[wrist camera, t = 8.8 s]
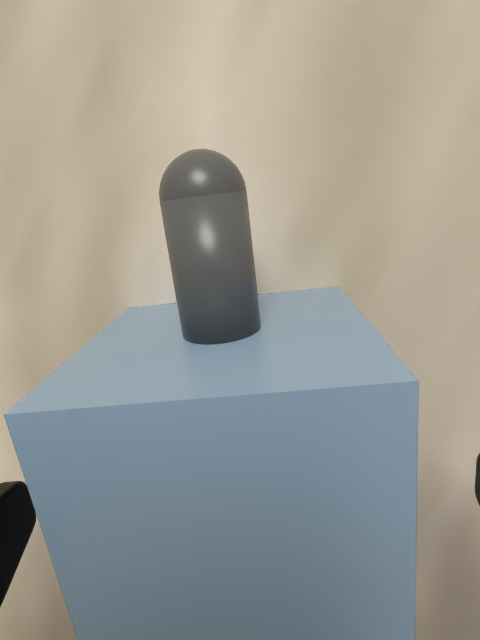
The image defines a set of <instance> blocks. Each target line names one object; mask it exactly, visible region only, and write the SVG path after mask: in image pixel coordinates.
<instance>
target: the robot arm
mask: <svg viewBox="0 0 480 640" xmlns="http://www.w3.org/2000/svg"><path fill="white" fill-rule="evenodd" d="M475 494H476V498H477V501H478V503H479V505H480V454H479V455H478V457H477V463H476V478H475ZM35 522H36V512H35V508H34V505H33V502H32V499H31V496H30V493H29V490H28V487H27V485H26V484H25V483H24V482H22V481H13V482H3V483H1V484H0V606H1V604H2V602H3V600H4V598H5V595H6V593H7V591H8V589H9V586H10V584H11V581H12V579H13V577H14V574H15V572H16V569H17V567H18V564H19V562H20V560H21V557H22V555H23V552H24V550H25V548H26V545H27V543H28V540H29V538H30V536H31V533H32V531H33V528H34V526H35Z"/></svg>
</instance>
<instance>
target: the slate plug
mask: <svg viewBox="0 0 480 640" xmlns="http://www.w3.org/2000/svg"><path fill="white" fill-rule="evenodd" d="M159 196H160V205H161V211H162V217H163V223H164V229H165V235H166V241H167V247H168V252H169V258H170V264H171V270H172V276H173V282H174V288H175V294H176V300H177V303H171V304H161V305H152V306H142V307H132V308H128V309H127V310H126V311H124V312H123V313H122V314H121V315H120V316H119V317H117V318H116V319H115V320H114V321H113V322H112V323H110V324H109V325H108V326H107V327H106V328H105V329H103V330H102V331H101V332H100V333H99V334H97V335H96V336H95V337H94V338H93V339H92V340H90V341H89V342H88V343H87V344H86V345H85V346H83V347H82V348H81V349H80V350H79V351H78V352H76V353H75V354H74V355H73V356H72V357H70V358H69V359H68V360H67V361H66V362H65V363H63V364H62V365H61V366H60V367H59V368H58V369H56V370H55V371H54V372H53V373H52V374H51V375H49V376H48V377H47V378H46V379H45V380H43V381H42V382H41V383H40V384H39V385H38V386H36V387H35V388H34V389H33V390H32V391H31V392H29V393H28V394H27V395H26V396H25V397H24V398H22V399H21V400H20V401H19V402H18V403H16V404H15V405H14V406H13V407H12V408H11V409H9V410H8V411H7V412H6V413H5V414H4V417H5V420H6V423H7V426H8V429H9V432H10V436H11V439H12V442H13V445H14V448H15V451H16V454H17V457H18V460H19V463H20V466H21V469H22V472H23V475H24V478H25V481H26V484H27V487H28V490H29V493H30V496H31V499H32V502H33V505H34V508H35V511H36V514H37V517H38V520H39V523H40V526H41V529H42V532H43V535H44V538H45V541H46V544H47V547H48V550H49V553H50V556H51V559H52V562H53V565H54V569H55V572H56V575H57V578H58V581H59V584H60V587H61V590H62V593H63V596H64V599H65V602H66V605H67V608H68V611H69V614H70V617H71V620H72V623H73V626H74V629H75V632H76V635H77V638H78V640H415V587H416V523H417V458H418V394H419V381H418V379H417V378H416V377H415V376H414V375H413V373H412V372H411V371H410V370H409V369H408V368H407V366H406V365H405V364H404V363H403V362H402V360H401V359H400V358H399V357H398V356H397V354H396V353H395V352H394V351H393V350H392V349H391V347H390V346H389V345H388V344H387V343H386V341H385V340H384V339H383V338H382V337H381V335H380V334H379V333H378V332H377V331H376V330H375V328H374V327H373V326H372V325H371V324H370V322H369V321H368V320H367V319H366V318H365V317H364V315H363V314H362V313H361V312H360V311H359V309H358V308H357V307H356V306H355V305H354V303H353V302H352V301H351V300H350V299H349V298H348V296H347V295H346V294H345V293H344V292H343V290H342V289H341V288H340V287H339V286H337V287H328V288H318V289H308V290H298V291H288V292H279V293H269V294H259V295H258V294H257V285H256V276H255V266H254V257H253V248H252V239H251V229H250V220H249V211H248V201H247V192H246V187H245V182H244V179H243V177H242V174H241V173H240V171H239V170H238V168H237V166H236V165H235V164H234V163H233V162H232V161H231V160H230V159H228V158H227V157H226V156H224V155H223V154H220V153H218V152H216V151H213V150H207V149H196V150H191V151H188V152H186V153H183V154H181V155H180V156H178V157H177V158H176V159H174V160H173V161H172V162H171V163H170V165H169V166H168V167H167V169H166V171H165V172H164V174H163V177H162V180H161V183H160V190H159Z"/></svg>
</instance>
